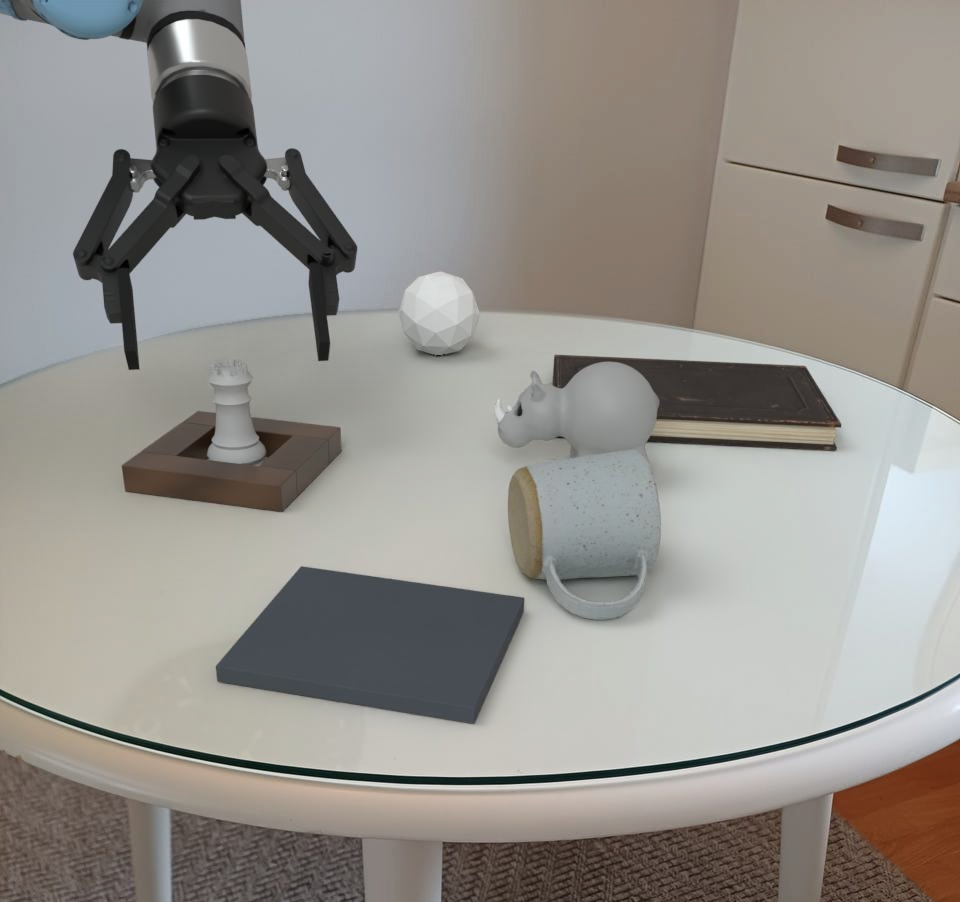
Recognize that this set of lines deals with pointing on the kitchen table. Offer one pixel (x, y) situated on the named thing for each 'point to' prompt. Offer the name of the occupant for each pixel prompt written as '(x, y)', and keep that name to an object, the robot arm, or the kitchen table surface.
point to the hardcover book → (727, 402)
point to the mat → (377, 643)
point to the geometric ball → (439, 313)
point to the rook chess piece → (233, 416)
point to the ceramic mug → (586, 525)
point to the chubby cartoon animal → (584, 411)
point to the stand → (233, 464)
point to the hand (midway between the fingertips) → (229, 356)
